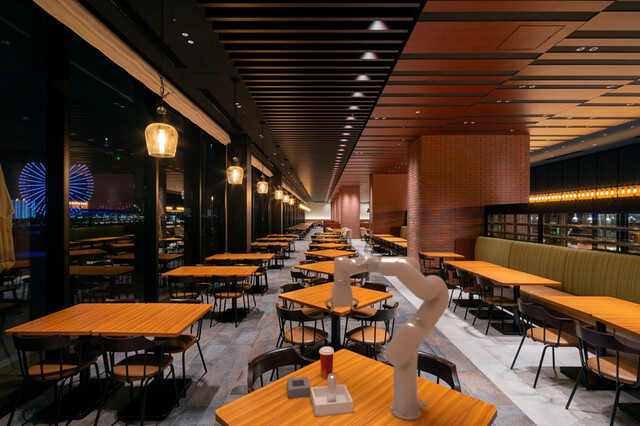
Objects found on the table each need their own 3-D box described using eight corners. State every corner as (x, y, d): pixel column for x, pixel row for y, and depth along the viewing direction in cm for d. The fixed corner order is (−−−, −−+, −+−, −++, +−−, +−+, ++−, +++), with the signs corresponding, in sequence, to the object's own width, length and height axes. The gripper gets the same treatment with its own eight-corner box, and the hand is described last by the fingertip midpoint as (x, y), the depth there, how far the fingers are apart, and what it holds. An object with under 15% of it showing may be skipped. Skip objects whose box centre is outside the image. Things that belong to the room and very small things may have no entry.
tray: (344, 394, 145) (344, 384, 145) (353, 412, 131) (353, 401, 131) (310, 397, 142) (310, 387, 142) (315, 416, 128) (315, 405, 128)
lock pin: (334, 400, 139) (335, 373, 139) (337, 405, 135) (337, 377, 135) (326, 401, 138) (326, 373, 138) (328, 406, 134) (328, 378, 134)
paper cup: (334, 373, 165) (334, 346, 166) (333, 380, 157) (333, 352, 158) (319, 372, 166) (319, 345, 166) (318, 379, 158) (318, 351, 159)
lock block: (307, 385, 153) (307, 377, 153) (310, 396, 143) (310, 387, 143) (286, 387, 151) (286, 378, 151) (288, 398, 141) (288, 389, 141)
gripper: (356, 280, 156) (357, 315, 156) (322, 281, 153) (322, 317, 153) (361, 283, 149) (361, 320, 149) (325, 284, 146) (325, 322, 146)
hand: (341, 318), depth 151 cm, fingers open, 9 cm apart
